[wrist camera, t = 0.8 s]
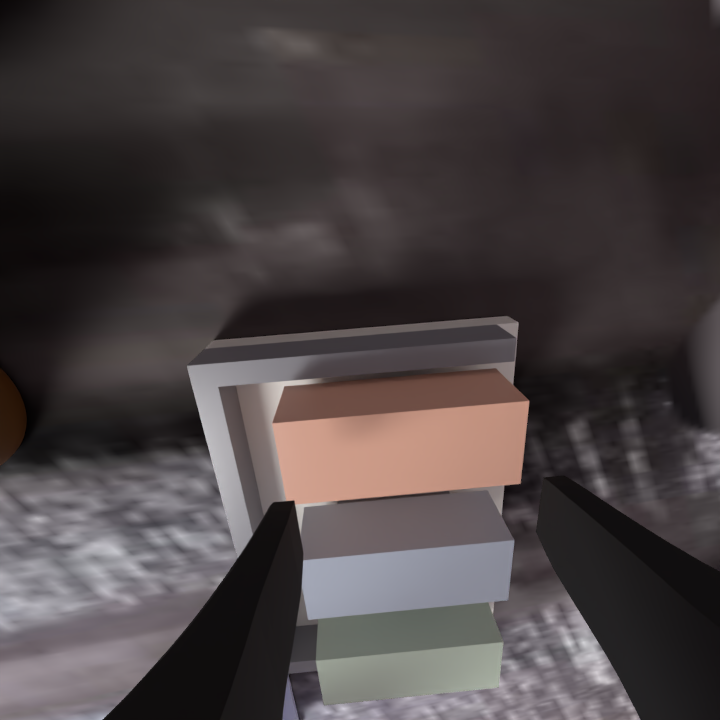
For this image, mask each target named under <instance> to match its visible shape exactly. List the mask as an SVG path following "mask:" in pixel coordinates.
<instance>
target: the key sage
mask: <svg viewBox="0 0 720 720" xmlns="http://www.w3.org/2000/svg"><path fill="white" fill-rule="evenodd" d="M502 651H503V640H502V637H501V634H500V632H499V629H498V627H497V624H496V621H495V619H494V616H493V614H492V611H491V608H490V606H489V603H488V602H485V603H475V604H465V605H455V606H444V607H434V608H424V609H414V610H404V611H394V612H383V613H373V614H363V615H353V616H343V617H333V618H322V619H318V629H317V647H316V665H317V671H318V676H319V682H320V687H321V693H322V698H323V703H324V705H334V704H344V703H353V702H363V701H373V700H382V699H392V698H402V697H412V696H421V695H431V694H441V693H451V692H460V691H470V690H480V689H489V688H499V679H500V669H501V660H502Z"/></svg>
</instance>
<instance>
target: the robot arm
mask: <svg viewBox="0 0 720 720" xmlns="http://www.w3.org/2000/svg"><path fill="white" fill-rule="evenodd" d="M536 532H537V535H538V537H539V539H540V541H541V543H542V546H543V548H544V550H545V552H546V554H547V556H548V558H549V561H550V563H551V565H552V567H553V569H554V570H555V572H556V574H557V575H558V577H559V579H560V580H561V582H562V584H563V585H564V587H565V589H566V590H567V592H568V594H569V595H570V597H571V599H572V600H573V602H574V603H575V605H576V607H577V608H578V610H579V611H580V613H581V615H582V616H583V618H584V620H585V621H586V623H587V624H588V626H589V628H590V629H591V631H592V633H593V634H594V636H595V637H596V639H597V641H598V642H599V644H600V646H601V647H602V649H603V650H604V652H605V654H606V655H607V657H608V659H609V661H610V662H611V664H612V666H613V668H614V669H615V671H616V673H617V675H618V676H619V678H620V680H621V682H622V684H623V686H624V688H625V690H626V692H627V694H628V696H629V698H630V700H631V702H632V703H633V705H634V707H635V709H636V711H637V713H638V715H639V717H640V719H641V720H720V572H719V571H717V570H715V569H714V568H712V567H710V566H708V565H706V564H705V563H703V562H701V561H699V560H698V559H696V558H694V557H692V556H691V555H689V554H687V553H686V552H684V551H682V550H681V549H679V548H677V547H676V546H674V545H672V544H670V543H669V542H667V541H665V540H664V539H662V538H661V537H659V536H657V535H656V534H654V533H652V532H651V531H649V530H648V529H646V528H645V527H643V526H641V525H640V524H638V523H637V522H635V521H634V520H632V519H630V518H629V517H627V516H626V515H624V514H623V513H621V512H620V511H618V510H617V509H615V508H614V507H612V506H611V505H609V504H607V503H606V502H604V501H603V500H601V499H600V498H598V497H597V496H595V495H594V494H592V493H591V492H589V491H588V490H586V489H585V488H583V487H582V486H580V485H579V484H577V483H575V482H574V481H572V480H571V479H569V478H567V477H566V476H556V477H545V478H543V485H542V492H541V500H540V507H539V514H538V522H537V529H536ZM303 555H304V553H303V547H302V541H301V535H300V530H299V524H298V518H297V512H296V507H295V501H294V500H292V501H281V502H273V503H272V504H271V505H270V506H269V508H268V510H267V512H266V513H265V515H264V517H263V519H262V520H261V522H260V524H259V525H258V527H257V529H256V530H255V532H254V534H253V535H252V537H251V539H250V540H249V542H248V543H247V545H246V546H245V548H244V550H243V551H242V553H241V554H240V556H239V557H238V559H237V560H236V562H235V563H234V565H233V566H232V568H231V569H230V571H229V572H228V574H227V575H226V576H225V578H224V579H223V581H222V582H221V583H220V585H219V586H218V587H217V589H216V590H215V592H214V593H213V594H212V596H211V597H210V599H209V600H208V601H207V603H206V604H205V605H204V607H203V608H202V609H201V610H200V612H199V613H198V614H197V616H196V617H195V618H194V619H193V621H192V622H191V623H190V624H189V626H188V627H187V628H186V629H185V631H184V632H183V633H182V634H181V635H180V637H179V638H178V639H177V640H176V641H175V643H174V644H173V645H172V646H171V647H170V648H169V650H168V651H167V652H166V653H165V654H164V655H163V656H162V657H161V659H160V660H159V661H158V662H157V663H156V664H155V665H154V666H153V668H152V669H151V670H150V671H149V672H148V673H147V674H146V675H145V677H144V678H143V679H142V680H141V681H140V682H139V683H138V684H137V685H136V686H135V687H134V688H133V690H132V691H131V692H130V693H129V694H128V695H127V696H126V697H125V698H124V699H123V700H122V701H121V702H120V703H119V704H118V705H117V706H116V707H115V708H114V709H113V710H112V711H111V712H110V713H109V714H108V715H107V716H106V717H105V718H104V719H103V720H299V718H298V713H297V709H296V705H295V700H294V696H293V692H292V687H291V683H290V679H289V674H288V673H289V666H290V660H291V654H292V648H293V642H294V636H295V629H296V623H297V617H298V610H299V604H300V598H301V590H302V574H303Z"/></svg>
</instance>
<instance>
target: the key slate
mask: <svg viewBox="0 0 720 720" xmlns="http://www.w3.org/2000/svg"><path fill="white" fill-rule="evenodd" d="M301 541H302V547H303V553H304V555H303V574H302V589H303V595H304V600H305V605H306V611H307V616H308V620H312V619H322V618H333V617H343V616H353V615H363V614H373V613H383V612H394V611H404V610H414V609H424V608H434V607H444V606H455V605H465V604H475V603H485V602H495V601H506V600H508V595H509V586H510V577H511V567H512V558H513V549H514V539H513V537H512V535H511V533H510V531H509V529H508V527H507V526H506V524H505V522H504V520H503V518H502V516H501V514H500V513H499V511H498V509H497V507H496V505H495V503H494V501H493V500H492V498H491V496H490V494H489V492H488V490H484V491H473V492H462V493H452V494H441V495H430V496H419V497H408V498H397V499H387V500H376V501H365V502H354V503H343V504H333V505H322V506H311V507H304V512H303V520H302V528H301Z"/></svg>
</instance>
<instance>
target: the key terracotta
mask: <svg viewBox="0 0 720 720" xmlns="http://www.w3.org/2000/svg"><path fill="white" fill-rule="evenodd" d="M528 410H529V400H528V399H527V398H526V397H525V396H524V395H523V394H522V393H521V392H520V391H519V390H518V389H517V388H516V387H515V386H514V385H513V384H512V383H511V382H509V381H508V380H507V379H506V378H505V377H504V376H503V375H502V374H501V373H500V372H499V371H498V370H497V369H496V368H492V369H480V370H469V371H457V372H445V373H434V374H422V375H411V376H399V377H387V378H376V379H364V380H352V381H341V382H329V383H318V384H306V385H294V386H284V389H283V392H282V395H281V398H280V401H279V404H278V407H277V410H276V413H275V416H274V419H273V422H272V426H273V431H274V437H275V442H276V448H277V453H278V458H279V464H280V469H281V475H282V480H283V486H284V491H285V497H286V501H292V500H294V501H295V505H296V504H307V503H318V502H329V501H339V500H350V499H361V498H372V497H383V496H394V495H405V494H415V493H426V492H437V491H448V490H459V489H470V488H480V487H491V486H502V485H513V484H521V475H522V465H523V456H524V447H525V438H526V428H527V419H528Z"/></svg>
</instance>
